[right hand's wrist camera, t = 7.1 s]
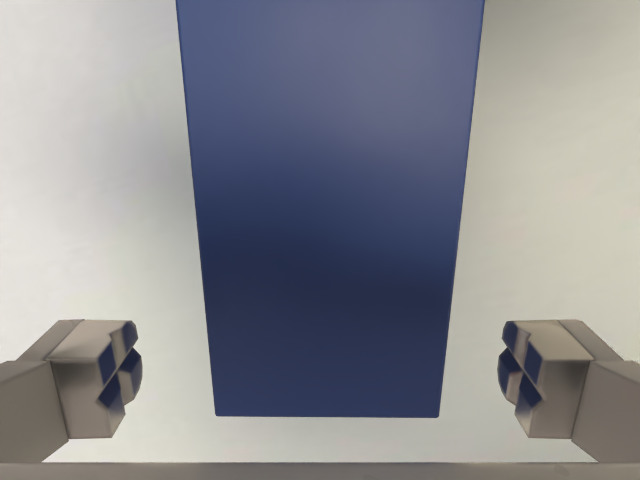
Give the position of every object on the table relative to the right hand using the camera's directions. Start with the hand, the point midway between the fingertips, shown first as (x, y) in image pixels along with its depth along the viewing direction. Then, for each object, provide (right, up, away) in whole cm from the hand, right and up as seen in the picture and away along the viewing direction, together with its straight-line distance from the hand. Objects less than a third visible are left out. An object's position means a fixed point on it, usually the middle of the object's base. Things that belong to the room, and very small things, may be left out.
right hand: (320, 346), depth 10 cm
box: (0, +11, +9) cm, 14 cm away
